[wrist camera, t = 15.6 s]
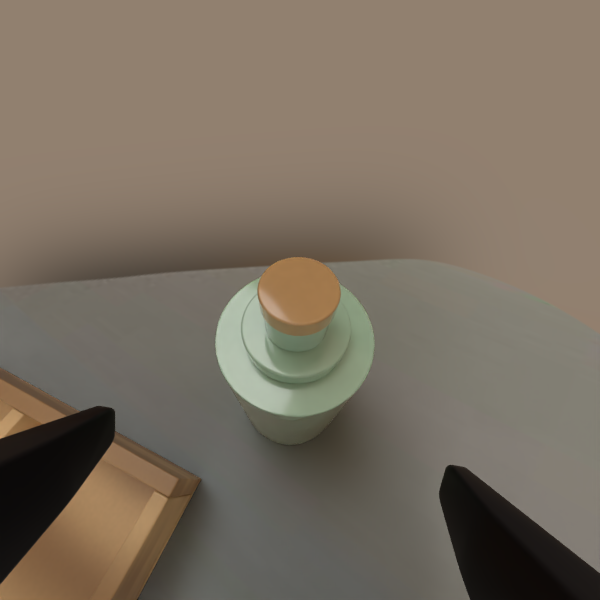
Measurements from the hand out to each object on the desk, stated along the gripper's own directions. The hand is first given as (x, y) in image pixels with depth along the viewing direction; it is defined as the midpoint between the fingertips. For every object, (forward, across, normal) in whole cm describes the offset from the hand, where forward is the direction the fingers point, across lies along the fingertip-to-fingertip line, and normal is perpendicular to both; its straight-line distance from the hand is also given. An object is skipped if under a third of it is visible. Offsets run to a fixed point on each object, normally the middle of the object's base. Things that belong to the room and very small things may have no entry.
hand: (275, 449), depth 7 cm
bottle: (+11, 0, +5) cm, 12 cm away
